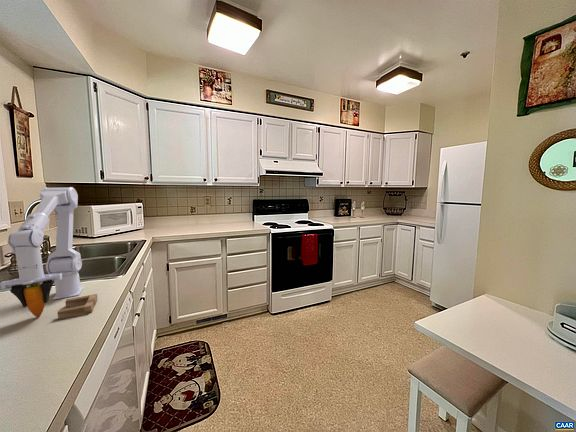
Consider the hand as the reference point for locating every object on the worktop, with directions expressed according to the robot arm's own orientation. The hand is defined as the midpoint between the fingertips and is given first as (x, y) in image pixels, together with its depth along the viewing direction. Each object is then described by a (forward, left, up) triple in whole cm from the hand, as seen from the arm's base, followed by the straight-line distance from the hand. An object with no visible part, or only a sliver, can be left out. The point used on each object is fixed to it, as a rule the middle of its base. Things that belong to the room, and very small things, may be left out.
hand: (36, 303), depth 84 cm
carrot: (0, 0, -5) cm, 5 cm away
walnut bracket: (0, +10, -5) cm, 11 cm away
